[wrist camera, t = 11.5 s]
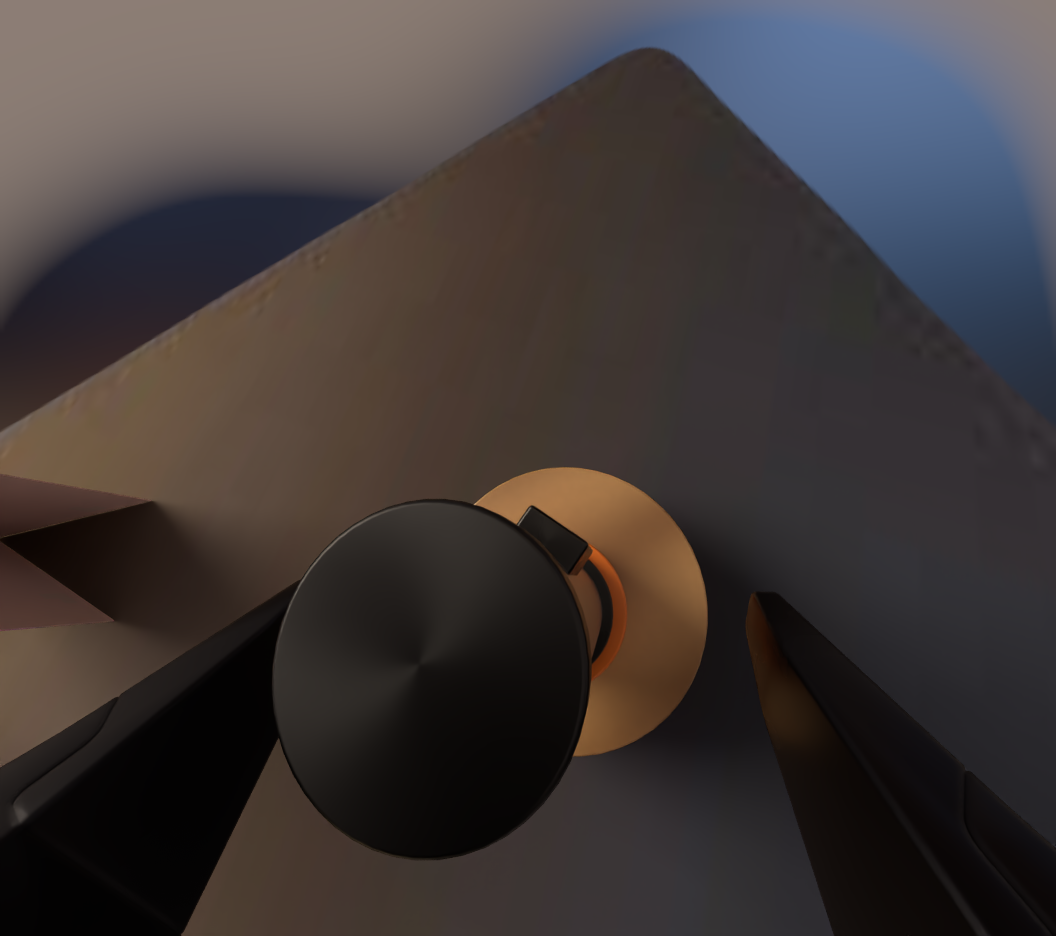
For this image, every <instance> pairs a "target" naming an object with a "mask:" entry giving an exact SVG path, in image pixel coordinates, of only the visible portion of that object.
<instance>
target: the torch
mask: <svg viewBox="0 0 1056 936" xmlns="http://www.w3.org/2000/svg"><path fill="white" fill-rule="evenodd" d="M626 625H627V603H626V596H625V593H624V589H623V586H622V583H621V581H620V579H619V576H618V574H617V573H616V571H615V569H614V568H613V566H612V565H611V563H610V562H609V561H608V559H607V558H606V557H605V556H604V555H603V554H602V553H601V552H600V551H599V550H597V549H596V548H595V547H594V546H592V545H591V544H589V543H587V541H585V540H584V539H582V538H581V537H579V536H578V535H577V534H575V533H574V532H572V531H571V530H569V529H568V528H566V527H565V526H563V525H562V524H560V523H559V522H558V521H556V520H555V519H553V518H552V517H550V516H549V515H547V514H546V513H544V512H543V511H541V510H540V509H538V508H537V507H536V506H533V505H531V506H529V507H528V508H527V510H526V511H525V513H524V514H523V516H522V517H521V519H520V520H519V521H518V523H517V524H515V523H513V522H512V521H510V520H508V519H507V518H505V517H503V516H502V515H500V514H497V513H495V512H493V511H491V510H488V509H486V508H484V507H481V506H477V505H474V504H470V503H467V502H463V501H455V500H448V499H423V500H416V501H408V502H404V503H401V504H397V505H393V506H390V507H387V508H385V509H382V510H380V511H378V512H375V513H373V514H371V515H369V516H367V517H366V518H364V519H362V520H360V521H359V522H357V523H355V524H354V525H352V526H351V527H349V528H348V529H347V530H345V531H344V532H343V533H341V534H340V535H339V536H338V537H336V538H335V539H334V540H333V541H332V542H331V543H330V544H329V545H328V546H327V547H326V548H325V549H324V550H323V551H322V552H321V553H320V555H319V556H318V557H317V558H316V559H315V561H314V562H313V563H312V564H311V565H310V567H309V568H308V570H307V571H306V573H305V574H304V576H303V578H302V579H301V581H300V582H299V584H298V586H297V588H296V590H295V592H294V594H293V596H292V598H291V599H290V601H289V604H288V606H287V609H286V612H285V614H284V617H283V620H282V622H281V626H280V630H279V634H278V638H277V641H276V647H275V653H274V660H273V671H272V698H273V711H274V716H275V722H276V728H277V733H278V736H279V739H280V743H281V746H282V749H283V753H284V755H285V757H286V760H287V762H288V764H289V767H290V769H291V771H292V774H293V775H294V777H295V779H296V780H297V782H298V784H299V785H300V787H301V789H302V791H303V792H304V794H305V795H306V796H307V798H308V799H309V800H310V801H311V803H312V804H313V805H314V807H315V808H316V809H317V810H318V812H319V813H321V814H322V815H323V816H324V817H325V818H326V819H327V820H328V821H329V822H330V823H331V824H332V825H333V826H334V827H335V828H337V829H338V830H339V831H341V832H342V833H344V834H345V835H346V836H348V837H349V838H351V839H352V840H354V841H356V842H358V843H360V844H362V845H364V846H365V847H367V848H369V849H371V850H374V851H377V852H380V853H383V854H386V855H389V856H392V857H398V858H404V859H411V860H441V859H447V858H453V857H458V856H463V855H466V854H469V853H472V852H475V851H477V850H480V849H483V848H486V847H488V846H490V845H491V844H493V843H495V842H497V841H499V840H501V839H503V838H504V837H506V836H508V835H509V834H510V833H512V832H513V831H514V830H516V829H517V828H518V827H520V826H521V825H522V824H524V823H525V822H526V821H527V820H528V819H529V818H530V817H531V816H532V815H533V814H534V813H535V812H536V811H537V810H538V809H539V808H540V807H541V806H542V805H543V804H544V803H545V801H546V800H547V799H548V797H549V796H550V794H551V793H552V792H553V790H554V789H555V788H556V786H557V785H558V784H559V782H560V780H561V778H562V776H563V775H564V773H565V771H566V769H567V767H568V765H569V764H570V762H571V759H572V757H573V754H574V752H575V749H576V747H577V744H578V742H579V739H580V736H581V732H582V728H583V724H584V720H585V716H586V712H587V707H588V702H589V696H590V687H591V681H593V680H594V679H596V678H597V677H598V676H600V675H601V674H602V673H603V672H604V671H605V670H606V669H607V668H608V667H609V665H610V664H611V663H612V661H613V660H614V659H615V657H616V655H617V653H618V651H619V650H620V647H621V644H622V642H623V639H624V635H625V631H626Z"/></svg>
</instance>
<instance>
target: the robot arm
mask: <svg viewBox="0 0 1056 936" xmlns="http://www.w3.org/2000/svg"><path fill="white" fill-rule="evenodd" d="M300 581H301V580H299V581H297V582H295V583H293V584H292V585H290V586H289V587H287V588H286V589H284V590H282V591H281V592H279V593H278V594H276V595H275V596H273V597H272V598H270V599H268V600H267V601H265V602H264V603H262V604H261V605H259V606H257V607H256V608H254V609H253V610H251V611H250V612H248V613H247V614H245V615H243V616H242V617H240V618H239V619H237V620H236V621H234V622H232V623H231V624H229V625H228V626H226V627H225V628H223V629H222V630H220V631H218V632H217V633H215V634H214V635H212V636H211V637H209V638H208V639H206V640H204V641H203V642H201V643H200V644H198V645H197V646H195V647H193V648H192V649H190V650H189V651H187V652H186V653H184V654H183V655H181V656H179V657H178V658H176V659H175V660H173V661H172V662H170V663H168V664H167V665H165V666H164V667H162V668H161V669H159V670H158V671H156V672H154V673H153V674H151V675H150V676H148V677H147V678H145V679H143V680H142V681H140V682H139V683H137V684H136V685H134V686H133V687H131V688H129V689H128V690H126V691H125V692H123V693H122V694H121V695H120V696H119V697H115V698H114V699H112V700H111V701H109V702H107V703H106V704H104V705H103V706H101V707H100V708H98V709H97V710H95V711H94V712H92V713H90V714H89V715H87V716H86V717H84V718H82V719H81V720H79V721H77V722H76V723H74V724H73V725H71V726H69V727H68V728H66V729H65V730H63V731H61V732H60V733H58V734H57V735H55V736H53V737H51V738H50V739H48V740H46V741H45V742H43V743H41V744H40V745H38V746H36V747H35V748H33V749H31V750H30V751H28V752H26V753H25V754H23V755H21V756H19V757H18V758H16V759H14V760H13V761H11V762H9V763H7V764H6V765H4V766H2V767H1V768H0V936H181V934H182V933H183V932H184V930H185V928H186V926H187V924H188V922H189V920H190V918H191V916H192V914H193V912H194V909H195V907H196V905H197V903H198V901H199V899H200V897H201V895H202V893H203V891H204V889H205V887H206V885H207V883H208V881H209V879H210V877H211V875H212V873H213V871H214V869H215V867H216V865H217V862H218V860H219V858H220V856H221V854H222V852H223V850H224V848H225V846H226V844H227V842H228V840H229V838H230V836H231V834H232V832H233V830H234V828H235V826H236V824H237V822H238V820H239V818H240V816H241V813H242V811H243V809H244V807H245V805H246V803H247V801H248V799H249V797H250V795H251V793H252V791H253V789H254V787H255V785H256V783H257V781H258V779H259V777H260V775H261V773H262V771H263V769H264V766H265V764H266V762H267V760H268V758H269V756H270V754H271V752H272V750H273V748H274V746H275V744H276V742H277V740H278V738H279V736H278V733H277V728H276V722H275V716H274V711H273V698H272V671H273V660H274V653H275V647H276V641H277V638H278V634H279V630H280V626H281V622H282V620H283V617H284V614H285V612H286V609H287V606H288V604H289V601H290V599H291V598H292V596H293V594H294V592H295V590H296V588H297V586H298V584H299V582H300ZM746 635H747V640H748V645H749V649H750V654H751V659H752V664H753V669H754V674H755V679H756V684H757V689H758V694H759V698H760V703H761V708H762V712H763V716H764V720H765V723H766V726H767V730H768V733H769V736H770V739H771V742H772V745H773V748H774V751H775V754H776V758H777V761H778V764H779V767H780V770H781V773H782V776H783V779H784V782H785V785H786V788H787V792H788V795H789V798H790V801H791V804H792V807H793V810H794V813H795V816H796V819H797V822H798V826H799V829H800V832H801V835H802V838H803V841H804V844H805V847H806V850H807V853H808V856H809V860H810V863H811V866H812V869H813V872H814V875H815V878H816V881H817V884H818V887H819V890H820V894H821V897H822V900H823V903H824V906H825V909H826V912H827V915H828V918H829V921H830V925H831V928H832V931H833V934H834V936H1056V848H1055V847H1054V846H1053V845H1051V844H1050V843H1049V842H1048V841H1047V840H1045V839H1044V838H1043V837H1042V836H1041V835H1040V834H1039V833H1038V832H1037V831H1035V830H1034V829H1033V828H1032V827H1031V826H1030V825H1029V824H1028V823H1027V822H1025V821H1024V820H1023V819H1022V818H1021V817H1020V816H1019V815H1018V814H1016V813H1015V812H1014V811H1013V810H1012V809H1011V808H1010V807H1009V806H1008V805H1006V804H1005V803H1004V802H1003V801H1002V800H1001V799H1000V798H999V797H998V796H996V795H995V794H994V793H993V792H992V791H991V790H990V789H989V788H988V787H987V786H986V785H985V784H984V783H982V782H981V781H980V780H979V779H978V778H977V777H976V776H975V775H974V774H973V773H972V772H970V771H965V767H964V765H963V764H962V763H961V762H959V761H958V760H957V759H956V758H955V757H954V756H953V755H952V754H951V753H950V752H949V751H948V750H947V749H945V748H944V747H943V746H942V745H941V744H940V743H939V742H938V741H937V740H936V739H935V738H934V737H932V736H931V735H930V734H929V733H928V732H927V731H926V730H925V729H924V728H923V727H922V726H921V725H920V724H918V723H917V722H916V721H915V720H914V719H913V718H912V717H911V716H910V715H909V714H908V713H907V712H905V711H904V710H903V709H902V708H901V707H900V706H899V705H898V704H897V703H896V702H895V701H894V700H893V699H891V698H890V697H889V696H888V695H887V694H886V693H885V692H884V691H883V690H882V689H881V688H880V687H878V686H877V685H876V684H875V683H874V682H873V681H872V680H871V679H870V678H869V677H868V676H867V675H866V674H864V673H863V672H862V671H861V670H860V669H859V668H858V667H857V666H856V665H855V664H854V663H853V662H851V661H850V660H849V659H848V658H847V657H846V656H845V655H844V654H843V653H842V652H841V651H840V650H839V649H837V648H836V647H835V646H834V645H833V644H832V643H831V642H830V641H829V640H828V639H827V638H826V637H824V636H823V635H822V634H821V633H820V632H819V631H818V630H817V629H816V628H815V627H814V626H813V625H812V624H810V623H809V622H808V621H807V620H806V619H805V618H804V617H803V616H802V615H801V614H800V613H799V612H797V611H796V610H795V609H794V608H793V607H792V606H791V605H790V604H789V603H788V602H787V601H786V600H785V599H783V598H782V597H781V596H780V595H779V594H777V593H775V592H760V591H756V592H753V593H752V594H751V597H750V601H749V606H748V612H747V617H746Z"/></svg>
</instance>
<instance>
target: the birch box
mask: <svg viewBox="0 0 1056 936" xmlns="http://www.w3.org/2000/svg"><path fill="white" fill-rule="evenodd" d="M474 505H477V506H481V507H484V508H486V509H488V510H491V511H493V512H495V513H497V514H500V515H502V516H503V517H505V518H507V519H508V520H510V521H512V522H513V523H515V524H517V523H518V521H519V520H520V519H521V517H522V516H523V514H524V513H525V511H526V510H527V508H528V507H529V506H531V505H533V506H536V507H537V508H538V509H540V510H541V511H543V512H544V513H546V514H547V515H549V516H550V517H552V518H553V519H555V520H556V521H558V522H559V523H560V524H562V525H563V526H565V527H566V528H568V529H569V530H571V531H572V532H574V533H575V534H577V535H578V536H579V537H581V538H582V539H584V540H585V541H587V543H589V544H591V545H592V546H594V547H595V548H596V549H597V550H599V551H600V552H601V553H602V554H603V555H604V556H605V557H606V558H607V559H608V561H609V562H610V563H611V565H612V566H613V568H614V569H615V571H616V573H617V574H618V576H619V579H620V581H621V583H622V586H623V589H624V593H625V596H626V603H627V625H626V631H625V635H624V639H623V642H622V644H621V647H620V650H619V651H618V653H617V655H616V657H615V659H614V660H613V661H612V663H611V664H610V665H609V667H608V668H607V669H606V670H605V671H604V672H603V673H602V674H601V675H600V676H598V677H597V678H596V679H594V680H593V681H591V687H590V696H589V702H588V707H587V712H586V716H585V720H584V724H583V728H582V732H581V736H580V739H579V742H578V744H577V747H576V749H575V752H574V754H573V756H580V757H581V756H589V755H597V754H602V753H606V752H609V751H613V750H616V749H619V748H622V747H624V746H626V745H628V744H630V743H633V742H635V741H637V740H638V739H640V738H642V737H643V736H645V735H646V734H648V733H649V732H651V731H652V730H654V729H655V728H656V727H657V726H658V725H659V724H660V723H662V722H663V721H664V720H665V719H666V718H667V717H668V716H669V715H670V714H671V713H672V712H673V710H674V709H675V708H676V707H677V705H678V704H679V703H680V702H681V701H682V699H683V697H684V696H685V694H686V692H687V691H688V689H689V688H690V686H691V684H692V682H693V680H694V677H695V675H696V673H697V671H698V668H699V666H700V663H701V659H702V655H703V652H704V648H705V643H706V635H707V628H708V605H707V597H706V590H705V584H704V581H703V577H702V573H701V569H700V566H699V564H698V561H697V559H696V557H695V554H694V552H693V549H692V547H691V546H690V544H689V542H688V540H687V539H686V537H685V535H684V533H683V532H682V530H681V529H680V528H679V526H678V525H677V524H676V523H675V521H674V520H673V519H672V517H671V516H670V515H669V514H668V513H667V512H666V511H665V510H664V509H663V508H662V507H661V506H660V505H659V504H658V503H657V502H656V501H654V500H653V499H652V498H651V497H649V496H648V495H647V494H646V493H644V492H643V491H641V490H639V489H638V488H636V487H635V486H633V485H631V484H630V483H628V482H625V481H623V480H621V479H619V478H617V477H614V476H612V475H608V474H605V473H602V472H599V471H595V470H589V469H583V468H569V467H559V468H548V469H542V470H537V471H533V472H529V473H526V474H523V475H520V476H517V477H515V478H513V479H511V480H509V481H507V482H505V483H503V484H501V485H499V486H497V487H496V488H494V489H493V490H491V491H490V492H488V493H487V494H486V495H484V496H483V497H482V498H481V499H480V500H479V501H477V502H476V503H475V504H474Z"/></svg>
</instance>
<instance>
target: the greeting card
mask: <svg viewBox="0 0 1056 936" xmlns="http://www.w3.org/2000/svg"><path fill="white" fill-rule="evenodd" d="M149 501H152V500H147V499H142V498H136V497H130V496H124V495H119V494H113V493H107V492H101V491H95V490H90V489H84V488H78V487H72V486H67V485H61V484H55V483H49V482H43V481H38V480H32V479H26V478H20V477H15V476H9V475H3V474H0V537H4V536H8V535H12V534H16V533H21V532H25V531H29V530H33V529H37V528H41V527H45V526H50V525H54V524H58V523H62V522H66V521H70V520H74V519H79V518H83V517H87V516H91V515H95V514H99V513H103V512H108V511H112V510H116V509H120V508H124V507H128V506H133V505H137V504H141V503H145V502H149ZM102 622H114V620H113V619H112V618H110V617H109V616H107V615H106V614H104V613H103V612H101V611H100V610H99V609H97V608H96V607H94V606H93V605H91V604H90V603H88V602H87V601H86V600H84V599H83V598H81V597H80V596H78V595H77V594H75V593H74V592H72V591H71V590H70V589H68V588H67V587H65V586H64V585H62V584H61V583H59V582H58V581H57V580H55V579H54V578H52V577H51V576H49V575H48V574H46V573H45V572H44V571H42V570H41V569H39V568H38V567H36V566H35V565H33V564H32V563H31V562H29V561H28V560H26V559H25V558H23V557H22V556H20V555H19V554H17V553H16V552H15V551H13V550H12V549H10V548H9V547H7V546H6V545H4V544H3V543H2V542H0V631H5V630H17V629H29V628H41V627H53V626H65V625H78V624H90V623H102Z"/></svg>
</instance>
